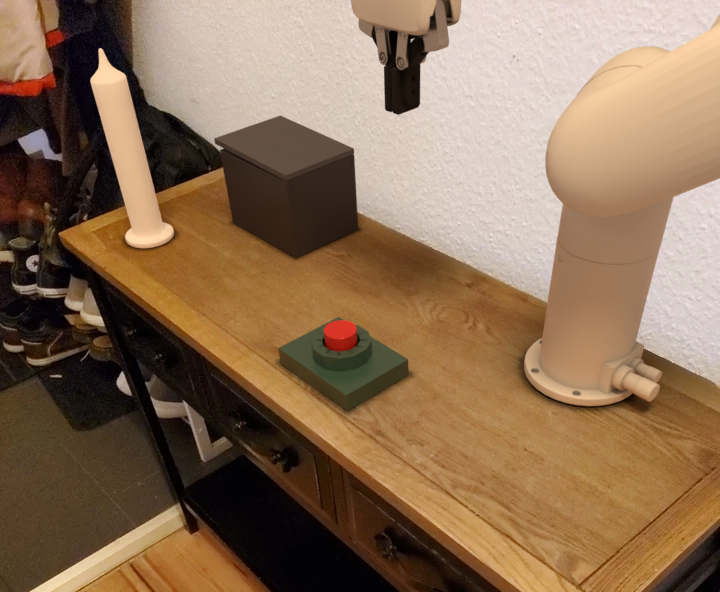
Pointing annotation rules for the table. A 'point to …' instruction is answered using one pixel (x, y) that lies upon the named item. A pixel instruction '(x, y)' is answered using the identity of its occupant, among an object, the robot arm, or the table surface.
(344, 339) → the red button
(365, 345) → the control block
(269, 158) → the lid
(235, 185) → the open storage bin
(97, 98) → the candle
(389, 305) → the table surface
